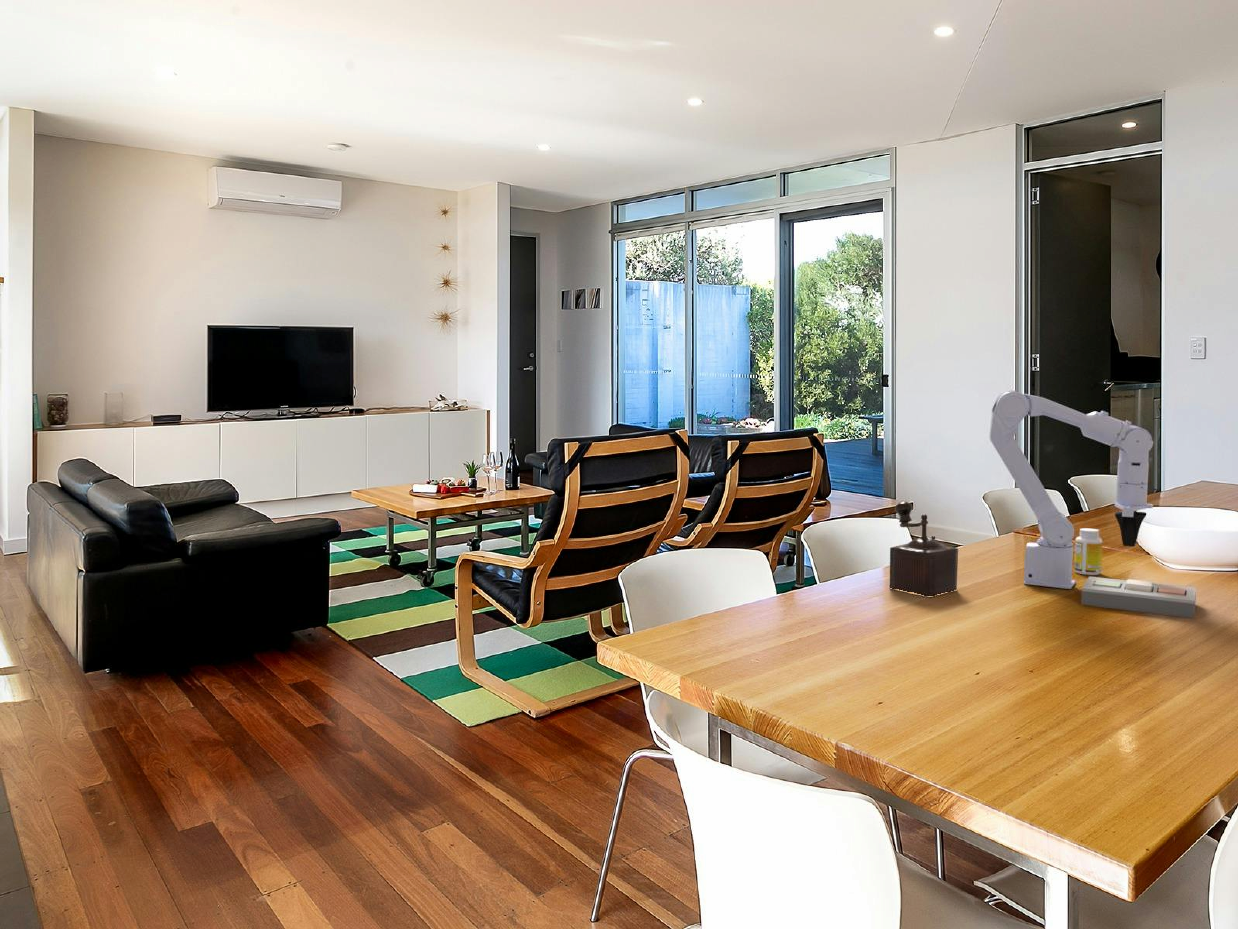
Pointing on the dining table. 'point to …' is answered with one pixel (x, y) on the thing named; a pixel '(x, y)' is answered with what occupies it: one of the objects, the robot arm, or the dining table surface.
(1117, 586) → the sage key
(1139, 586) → the cream key
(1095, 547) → the supplement bottle
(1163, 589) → the terracotta key
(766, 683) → the dining table surface
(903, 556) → the manual coffee grinder
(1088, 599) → the keypad base
